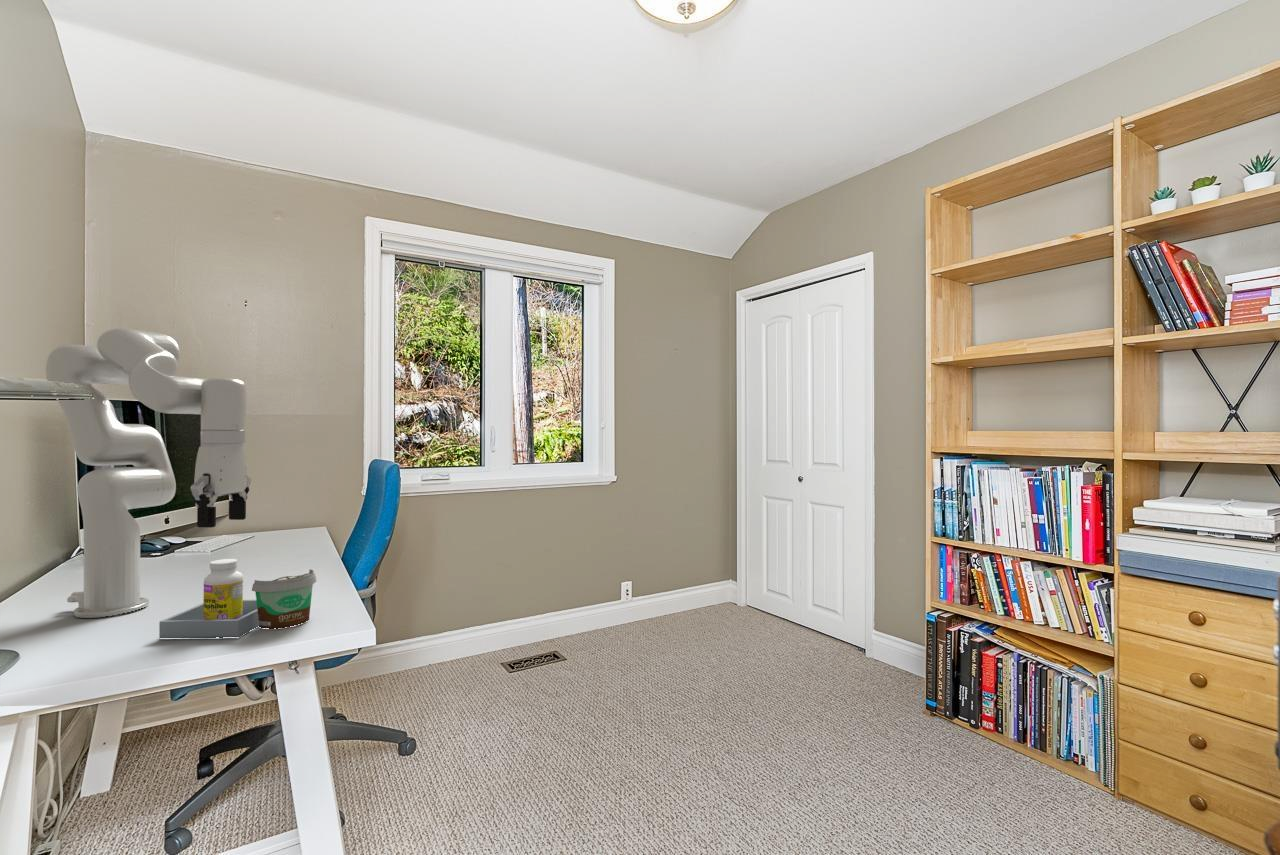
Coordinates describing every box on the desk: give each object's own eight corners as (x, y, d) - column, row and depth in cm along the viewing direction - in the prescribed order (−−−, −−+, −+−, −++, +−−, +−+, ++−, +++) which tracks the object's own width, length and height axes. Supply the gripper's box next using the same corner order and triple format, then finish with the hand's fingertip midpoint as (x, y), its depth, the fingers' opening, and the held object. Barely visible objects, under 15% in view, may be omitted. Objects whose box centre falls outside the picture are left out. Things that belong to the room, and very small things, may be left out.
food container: (267, 636, 119) (267, 584, 119) (251, 630, 122) (251, 580, 122) (328, 619, 129) (328, 572, 129) (312, 614, 132) (312, 568, 132)
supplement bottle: (194, 628, 121) (194, 564, 121) (220, 618, 128) (220, 557, 128) (226, 629, 121) (226, 565, 121) (250, 619, 127) (250, 558, 127)
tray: (159, 640, 116) (159, 621, 116) (209, 616, 131) (209, 600, 131) (238, 638, 117) (238, 620, 117) (279, 615, 132) (279, 599, 132)
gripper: (231, 438, 133) (230, 516, 133) (173, 439, 115) (172, 530, 115) (266, 438, 133) (265, 517, 133) (214, 440, 116) (213, 530, 116)
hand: (222, 523), depth 124 cm, fingers open, 9 cm apart
